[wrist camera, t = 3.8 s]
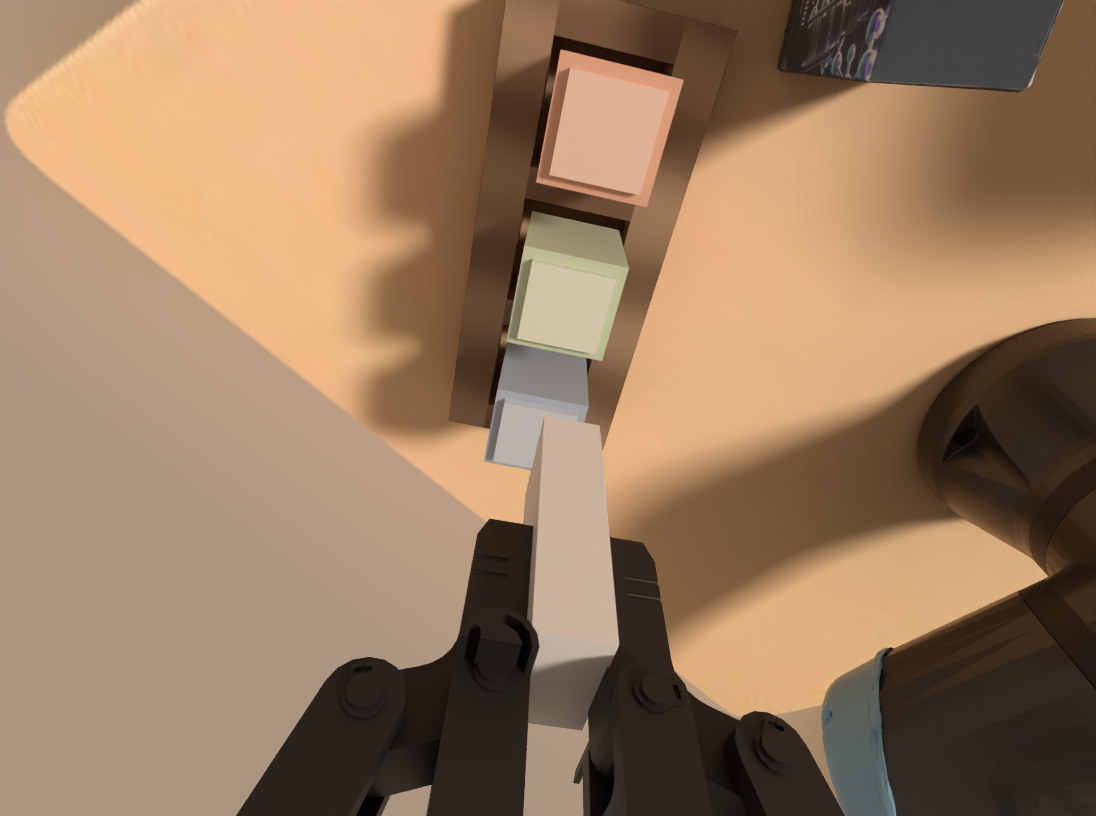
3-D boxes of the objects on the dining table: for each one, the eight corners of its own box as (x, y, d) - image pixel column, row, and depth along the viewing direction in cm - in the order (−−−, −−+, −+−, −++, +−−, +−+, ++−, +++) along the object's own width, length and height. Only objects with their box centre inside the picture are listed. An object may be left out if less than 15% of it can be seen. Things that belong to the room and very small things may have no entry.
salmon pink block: (562, 49, 25) (560, 49, 20) (661, 73, 26) (685, 80, 20) (542, 157, 28) (535, 184, 22) (633, 178, 28) (647, 209, 22)
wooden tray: (515, -20, 26) (509, -27, 24) (721, 32, 27) (737, 30, 25) (456, 396, 39) (448, 420, 36) (600, 423, 39) (602, 449, 37)
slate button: (508, 335, 33) (496, 393, 27) (586, 351, 33) (589, 410, 28) (496, 401, 35) (482, 466, 30) (568, 415, 35) (568, 481, 30)
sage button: (532, 210, 29) (523, 248, 23) (618, 230, 29) (629, 271, 24) (516, 294, 31) (505, 345, 26) (596, 310, 32) (602, 365, 26)
